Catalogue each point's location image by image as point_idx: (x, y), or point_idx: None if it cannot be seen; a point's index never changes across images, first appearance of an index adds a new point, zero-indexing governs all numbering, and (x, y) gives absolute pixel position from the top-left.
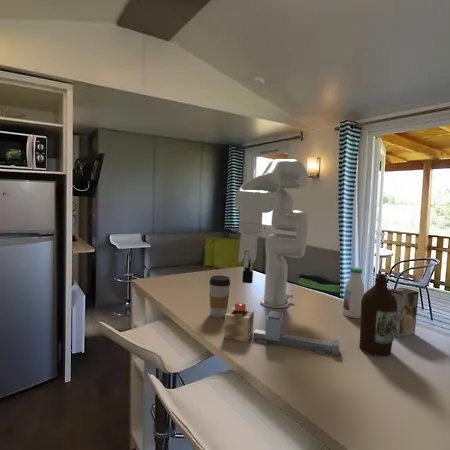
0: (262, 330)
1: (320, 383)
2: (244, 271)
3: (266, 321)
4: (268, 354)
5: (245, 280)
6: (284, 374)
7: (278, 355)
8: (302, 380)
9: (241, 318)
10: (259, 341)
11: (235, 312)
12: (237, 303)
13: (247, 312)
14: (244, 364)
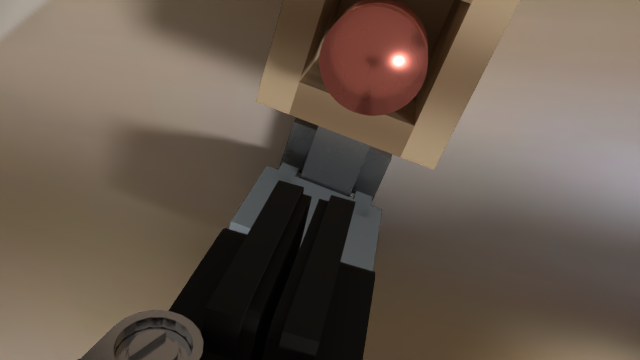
0: (360, 167)
1: (17, 262)
2: (206, 327)
3: (237, 211)
4: (175, 142)
5: (227, 235)
6: (29, 167)
7: (176, 183)
8: (13, 215)
9: (272, 46)
10: (294, 125)
11: (465, 6)
12: (408, 37)
13: (420, 112)
14: (51, 12)
